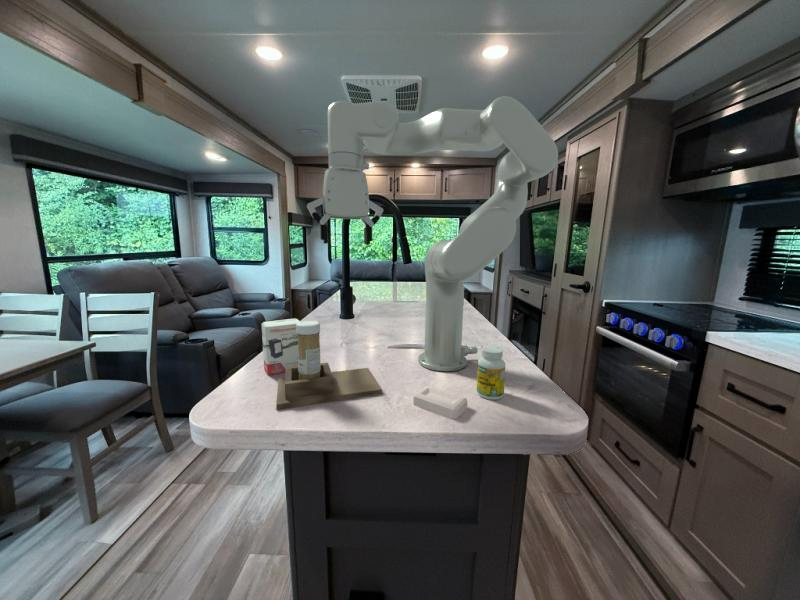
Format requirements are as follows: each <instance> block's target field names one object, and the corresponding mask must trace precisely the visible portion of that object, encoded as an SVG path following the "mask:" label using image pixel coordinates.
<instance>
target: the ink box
mask: <svg viewBox="0 0 800 600" xmlns="http://www.w3.org/2000/svg"><path fill="white" fill-rule="evenodd" d="M299 322H301V321H300V320H299V319H298V318H287V319H279V320H278V319H277V320H270V321H263V322H262V323H261V335H262V336H261V338H262V353H263V354H262V355H263V368H264V371H265V373H266V375H267V376H272V375H276V374H281V373H285V367H290V366H298V335H297V332H296V324H297V323H299Z"/></svg>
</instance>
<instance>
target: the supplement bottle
mask: <svg viewBox="0 0 800 600" xmlns="http://www.w3.org/2000/svg"><path fill="white" fill-rule="evenodd" d="M503 352H504V351H503V349H502V348H499V347H496V346H484V347H482V348H481V356H482V357H480V358H478V361H477V376H476V377H477V378H476V393H477V395H478V396H479V397H481V398H483V399H486V400H491V401H492V400H494V401H495V400H496V401H498V400H500V399H502V398H503V397H504V393H505V382H506V381H505V380H506V379H505V378H506V362H505V361H504V359H502V358H503V355H504V354H503Z"/></svg>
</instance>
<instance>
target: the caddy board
mask: <svg viewBox="0 0 800 600" xmlns="http://www.w3.org/2000/svg"><path fill="white" fill-rule="evenodd" d="M320 368H321V369H320V377H319V378H311V379H302V380H299V371H298V366H290V367H285V372H284V377H278V378H277V379H278V380H277V393H276V402H275V403H276V404H275V405H276V406H275V407H276V408H275V409H276V410H282V409H283V410H284V409H291V408H296V407H303V406H310V405H315V404H317V405H318V404H324V403H329V402H336V401H342V400H348V399H349V400H351V399H356V398H363V397H369V396H370V397H371V396H376V395H382V394H383V388H382V387H381V385H380V384H379V382H378V381H377V379H376V378H375V376H374V375H373V372H371V370H370V369H369V367H364V368H355V369H348V370H347V369H345V370H338V371H331V368H330V364H329V362H320Z"/></svg>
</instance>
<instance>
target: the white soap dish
mask: <svg viewBox="0 0 800 600" xmlns="http://www.w3.org/2000/svg"><path fill="white" fill-rule="evenodd" d="M412 405H413V406H416V407H419V408H422V409H424V410H427V411H430V412H432V413H435V414H438V415H440V416H443V417H446V418H450V419H452V420H457V419H458V418H459V417H460V416H461V415H462V414H463V413H464V412H465V411H466V410H467V409H468V399H467V398H466V397H464V396H461V395H457V394H455V393H452V392H448V391H444V390H442V389H438V388H435V387H433V386H429V385H426V386H424V387H423V388H421V389H420V390H419V391H416V392H415V393H414V394H413V395H412Z"/></svg>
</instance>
